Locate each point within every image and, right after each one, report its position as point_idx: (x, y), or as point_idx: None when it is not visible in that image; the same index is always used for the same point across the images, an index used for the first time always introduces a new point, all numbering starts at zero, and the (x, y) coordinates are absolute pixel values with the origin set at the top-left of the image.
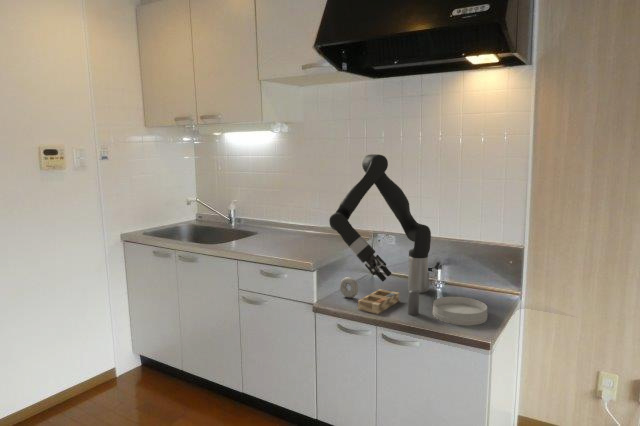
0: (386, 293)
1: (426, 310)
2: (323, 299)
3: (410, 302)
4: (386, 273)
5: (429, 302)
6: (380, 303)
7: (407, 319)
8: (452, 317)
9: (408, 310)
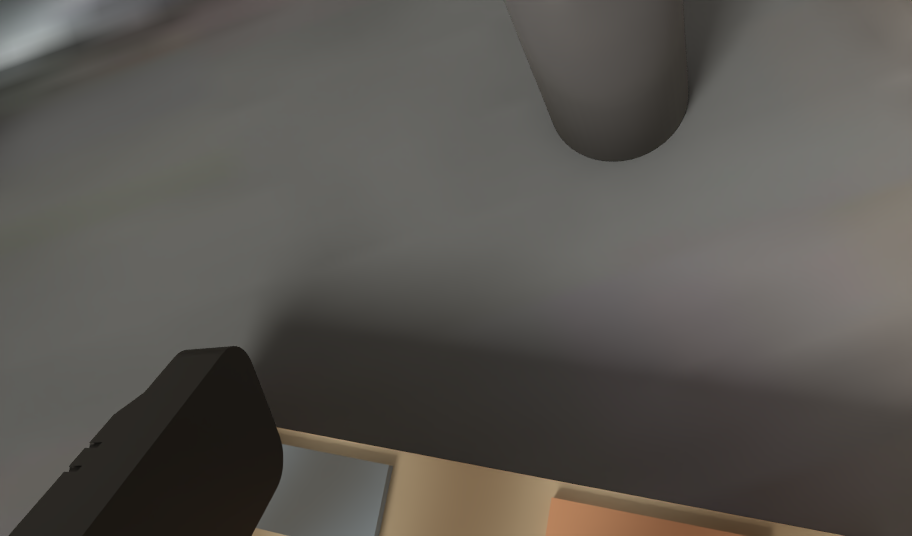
0: None
1: (433, 13)
2: None
3: (676, 15)
4: (230, 513)
5: (162, 78)
6: (817, 533)
7: (875, 85)
8: None
9: (658, 121)
